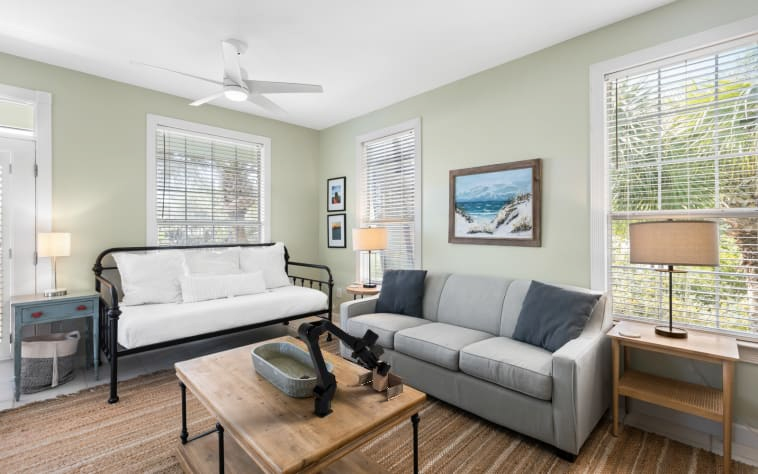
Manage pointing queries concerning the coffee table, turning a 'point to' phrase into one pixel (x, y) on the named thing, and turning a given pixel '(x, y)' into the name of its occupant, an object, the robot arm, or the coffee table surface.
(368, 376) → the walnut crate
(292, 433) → the coffee table surface
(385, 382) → the terracotta block
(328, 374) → the robot arm
